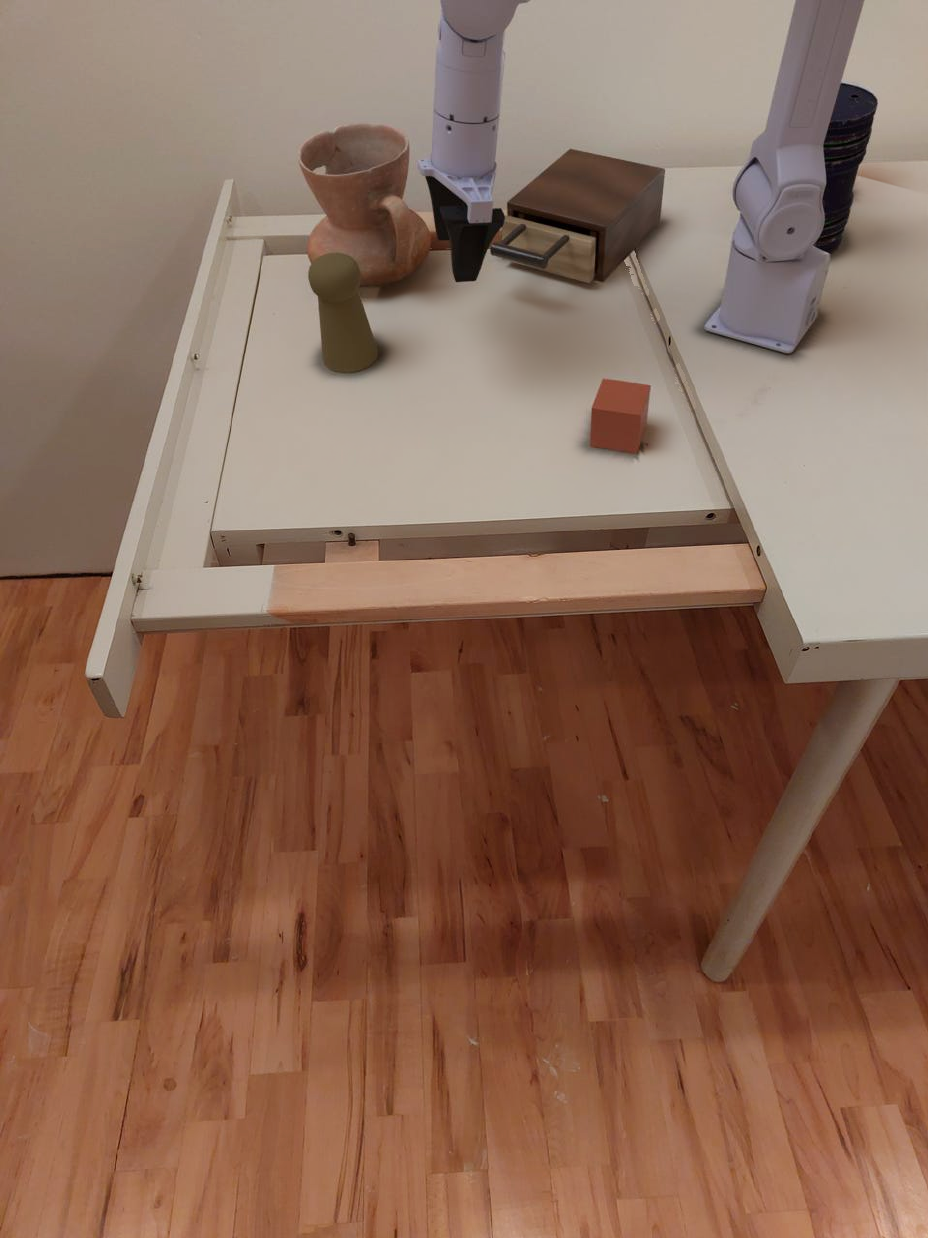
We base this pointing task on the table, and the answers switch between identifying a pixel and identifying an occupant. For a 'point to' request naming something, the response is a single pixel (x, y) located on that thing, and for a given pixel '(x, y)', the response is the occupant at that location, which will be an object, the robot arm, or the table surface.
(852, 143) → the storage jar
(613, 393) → the block
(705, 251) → the table surface
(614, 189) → the cabinet
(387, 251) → the ceramic jug
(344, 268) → the olive green pawn
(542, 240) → the drawer
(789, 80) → the robot arm
